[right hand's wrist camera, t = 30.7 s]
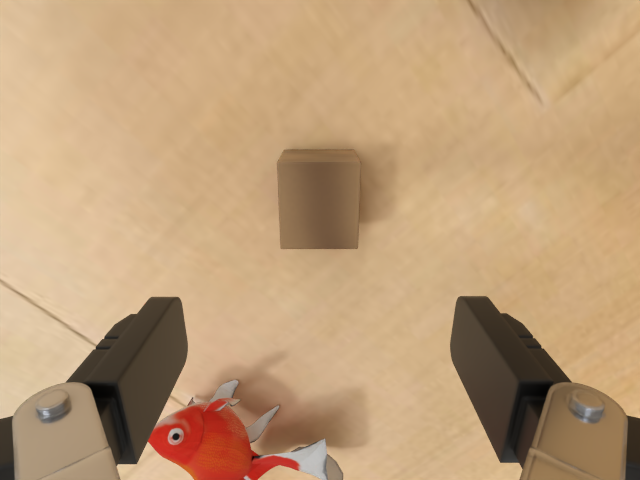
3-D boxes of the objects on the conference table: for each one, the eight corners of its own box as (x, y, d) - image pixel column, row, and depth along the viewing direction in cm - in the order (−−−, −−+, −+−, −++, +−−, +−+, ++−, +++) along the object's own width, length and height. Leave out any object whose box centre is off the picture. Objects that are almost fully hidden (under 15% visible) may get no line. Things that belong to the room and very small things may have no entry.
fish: (240, 338, 25) (217, 531, 20) (368, 391, 36) (379, 530, 30) (143, 372, 31) (102, 532, 25) (279, 410, 41) (273, 531, 35)
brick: (286, 224, 28) (280, 249, 24) (283, 149, 26) (276, 162, 22) (352, 224, 28) (358, 249, 24) (354, 149, 26) (361, 162, 22)
